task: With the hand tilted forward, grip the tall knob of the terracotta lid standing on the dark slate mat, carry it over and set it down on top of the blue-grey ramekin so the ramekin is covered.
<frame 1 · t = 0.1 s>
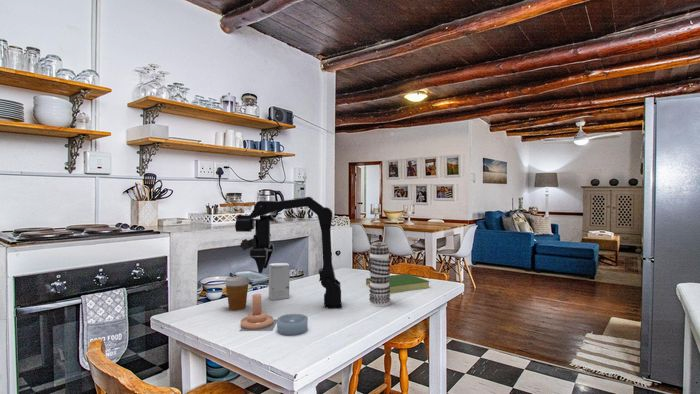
hand: (262, 270, 151), 15 cm above the table, tool pointing down, fingers open, 9 cm apart
hardcover book: (396, 288, 183), on the table
mat: (259, 325, 130), on the table
ramekin: (292, 330, 125), on the table
lid: (257, 324, 131), resting on mat
disposable coffee cup: (237, 309, 149), on the table
white patterned cylinder: (379, 303, 156), on the table
skincare box: (279, 298, 165), on the table
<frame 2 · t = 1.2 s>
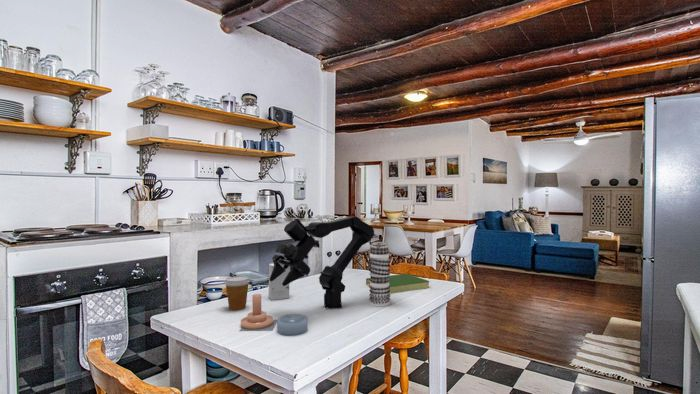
hand: (276, 283, 135), 13 cm above the table, tool tilted 45°, fingers open, 9 cm apart
nothing on the table moved.
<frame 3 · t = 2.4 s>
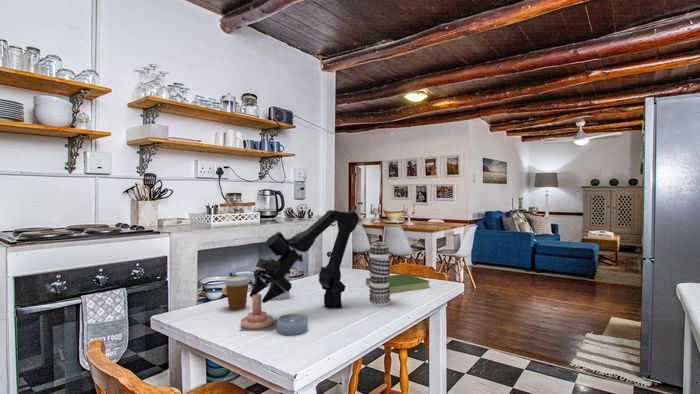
hand: (256, 299, 130), 9 cm above the table, tool tilted 45°, fingers open, 9 cm apart
nothing on the table moved.
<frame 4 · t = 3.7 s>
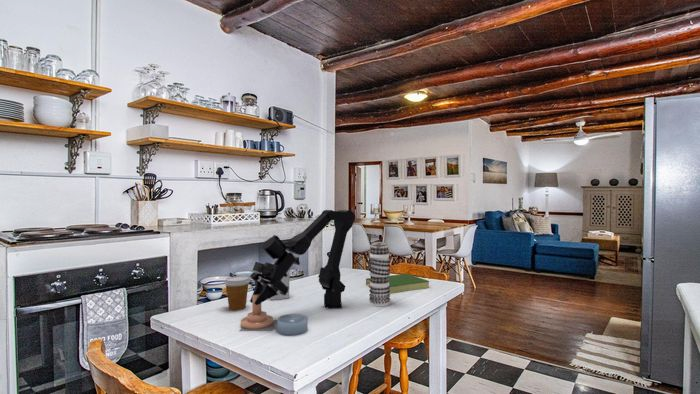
hand: (253, 303, 130), 8 cm above the table, tool tilted 45°, fingers closed on lid, 3 cm apart
lid: (257, 324, 131), resting on mat, touching gripper
everything else where it was.
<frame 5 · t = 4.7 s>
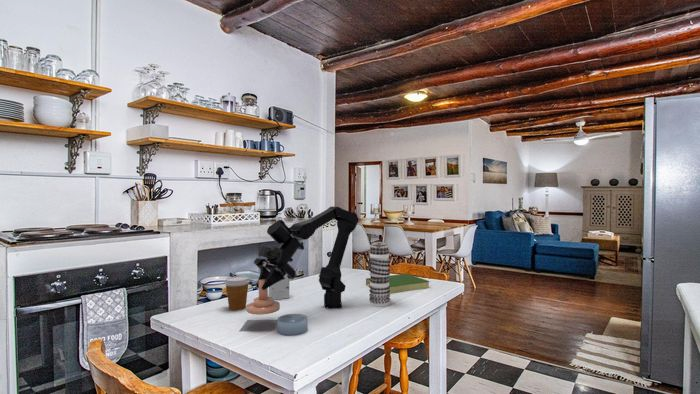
hand: (259, 288, 128), 13 cm above the table, tool tilted 45°, fingers closed on lid, 3 cm apart
lid: (263, 309, 129), point 6 cm above the table, touching gripper
everything else where it was.
when the fingers open (12 cm above the table, at t = 5.9 s): lid stays where it is, resting on ramekin.
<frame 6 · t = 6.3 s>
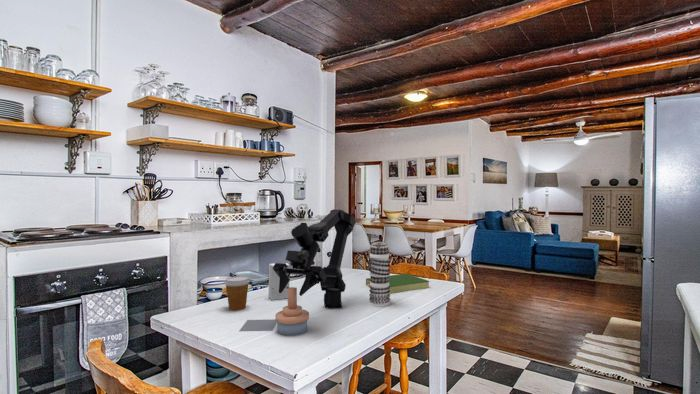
hand: (289, 293, 123), 13 cm above the table, tool tilted 45°, fingers open, 8 cm apart
lid: (292, 318, 125), point 4 cm above the table, touching ramekin
everything else where it was.
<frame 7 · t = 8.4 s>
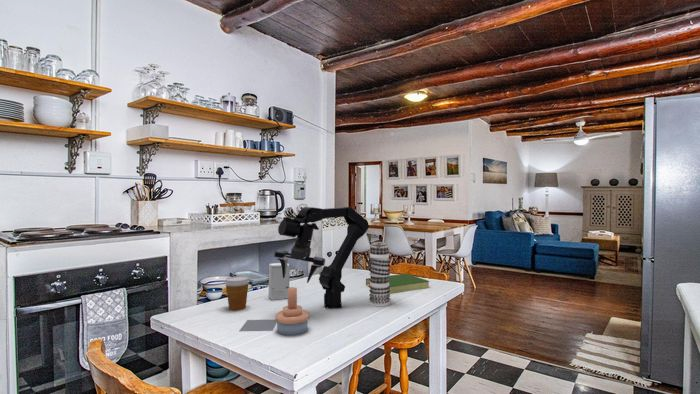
hand: (295, 280, 142), 13 cm above the table, tool pointing down, fingers open, 9 cm apart
nothing on the table moved.
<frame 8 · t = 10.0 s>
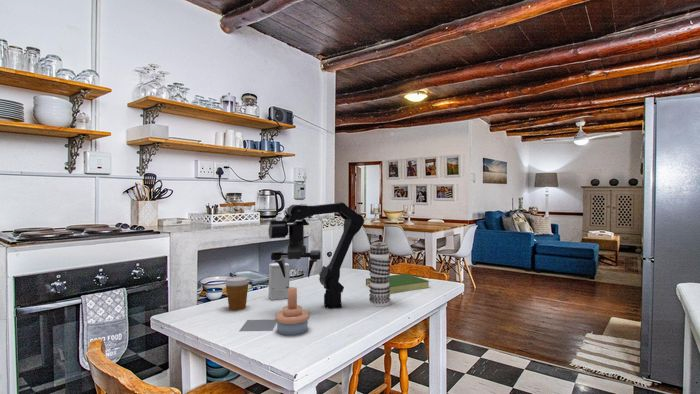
hand: (296, 277, 146), 13 cm above the table, tool pointing down, fingers open, 9 cm apart
nothing on the table moved.
at the end: lid 0.0 cm off-centre on the ramekin, point 4.0 cm above the ramekin's base; lid tilted 0°; the gripper is holding nothing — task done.
